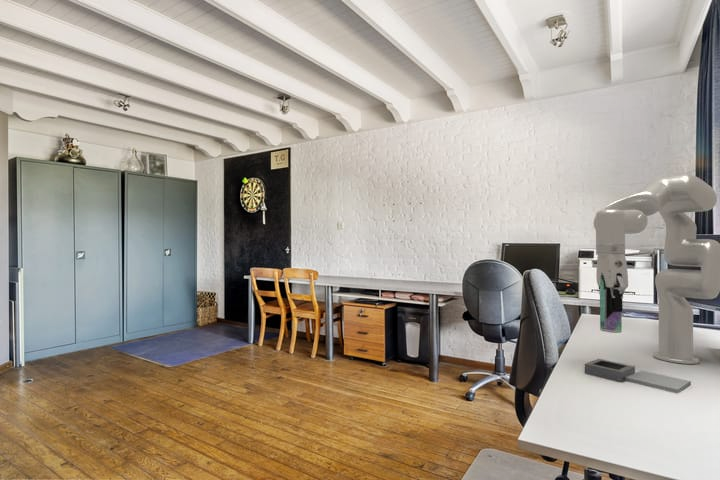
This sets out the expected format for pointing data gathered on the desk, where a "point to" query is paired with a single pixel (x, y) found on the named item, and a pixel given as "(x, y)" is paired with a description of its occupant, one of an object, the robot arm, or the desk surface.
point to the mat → (659, 381)
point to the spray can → (608, 311)
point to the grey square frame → (609, 370)
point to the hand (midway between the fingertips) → (610, 309)
